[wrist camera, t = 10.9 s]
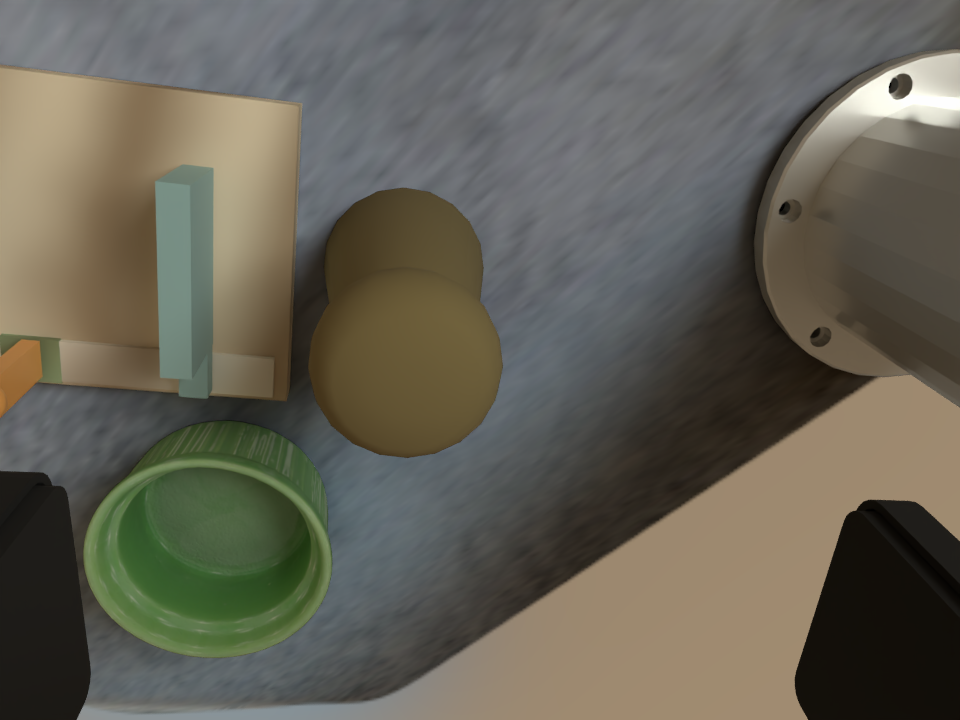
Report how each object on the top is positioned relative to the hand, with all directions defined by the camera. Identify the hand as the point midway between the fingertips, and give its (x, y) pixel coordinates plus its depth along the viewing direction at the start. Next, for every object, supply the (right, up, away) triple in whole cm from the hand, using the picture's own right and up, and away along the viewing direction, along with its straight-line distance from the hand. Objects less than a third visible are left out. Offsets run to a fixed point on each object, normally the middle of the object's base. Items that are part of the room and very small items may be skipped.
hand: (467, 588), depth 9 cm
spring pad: (-10, +5, +18) cm, 21 cm away
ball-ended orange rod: (-16, +3, +19) cm, 25 cm away
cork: (-3, +6, +20) cm, 22 cm away
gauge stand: (-12, +7, +19) cm, 24 cm away
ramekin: (-10, -3, +24) cm, 26 cm away
